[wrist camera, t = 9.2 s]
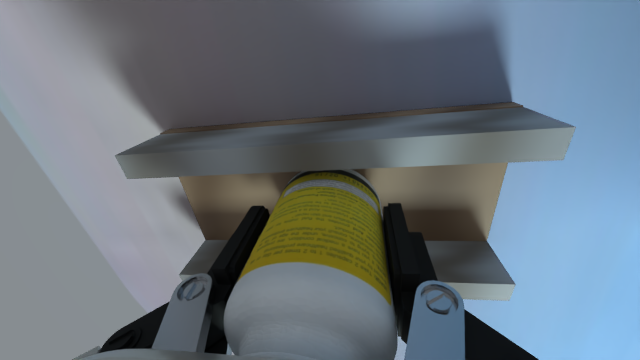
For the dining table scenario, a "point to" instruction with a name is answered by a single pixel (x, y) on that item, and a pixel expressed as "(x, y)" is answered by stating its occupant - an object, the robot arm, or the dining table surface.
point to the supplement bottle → (317, 276)
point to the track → (365, 174)
